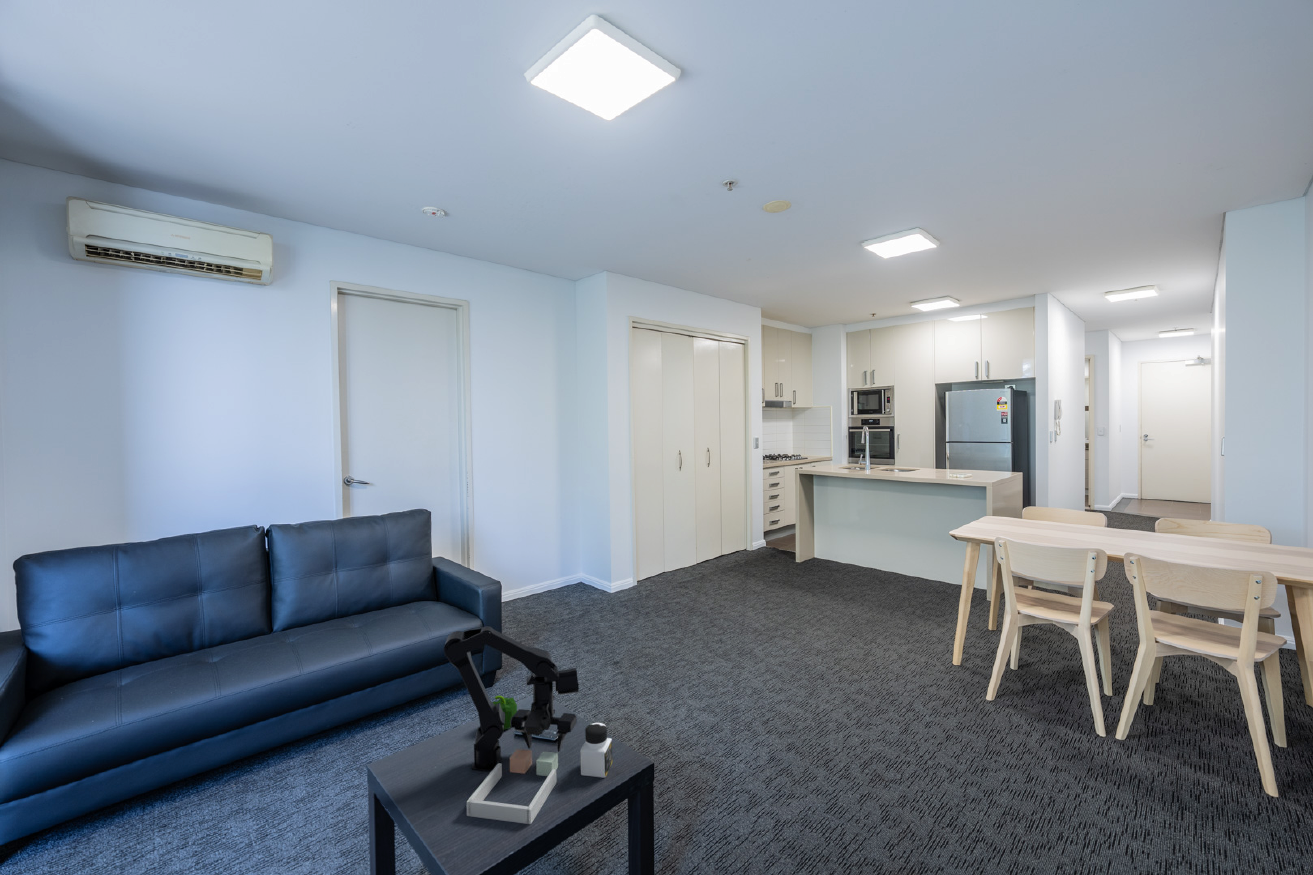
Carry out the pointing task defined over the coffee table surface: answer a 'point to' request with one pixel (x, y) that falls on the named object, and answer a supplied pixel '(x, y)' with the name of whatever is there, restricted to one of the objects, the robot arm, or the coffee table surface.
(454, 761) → the coffee table surface
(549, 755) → the pale green cube
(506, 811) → the box
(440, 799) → the coffee table surface
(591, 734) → the medicine bottle
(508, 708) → the bell pepper
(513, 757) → the salmon pink cube
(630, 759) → the coffee table surface
